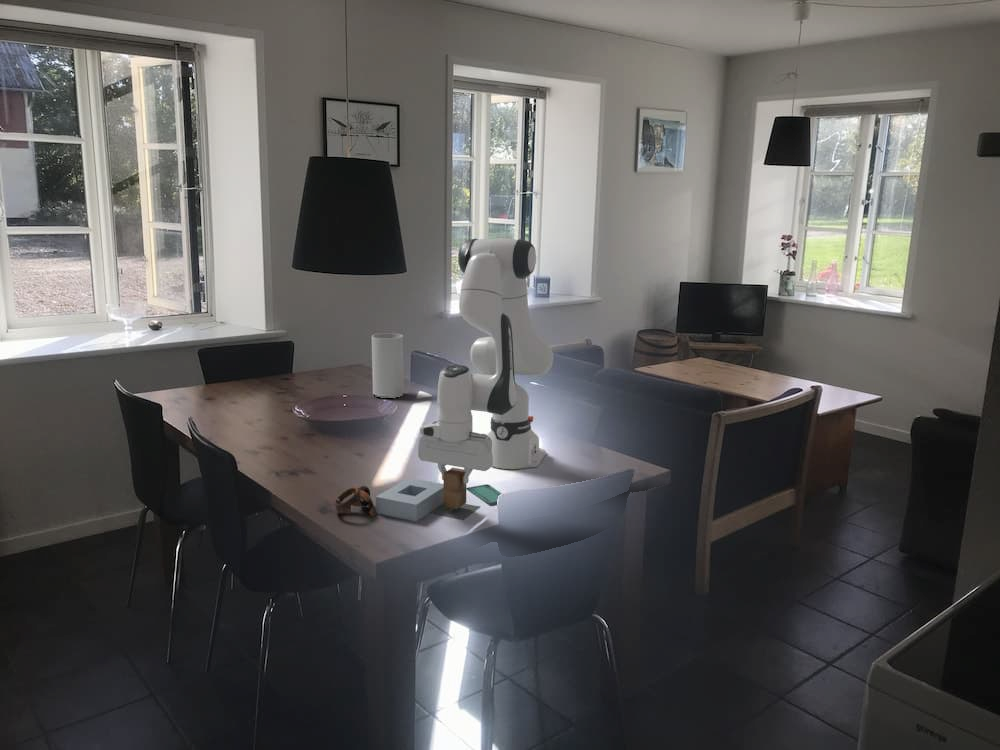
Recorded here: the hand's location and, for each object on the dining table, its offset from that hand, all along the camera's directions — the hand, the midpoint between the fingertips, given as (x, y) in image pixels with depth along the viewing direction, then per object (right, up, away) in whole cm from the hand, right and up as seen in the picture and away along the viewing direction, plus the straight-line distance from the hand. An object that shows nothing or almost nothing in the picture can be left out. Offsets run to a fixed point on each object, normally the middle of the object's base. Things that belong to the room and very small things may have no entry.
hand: (455, 481), depth 205 cm
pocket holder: (-11, -8, +4) cm, 14 cm away
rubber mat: (0, -8, +2) cm, 8 cm away
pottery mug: (-25, -9, 0) cm, 26 cm away
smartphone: (+9, -7, +13) cm, 17 cm away
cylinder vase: (-34, +19, +123) cm, 129 cm away
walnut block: (0, -6, +1) cm, 6 cm away
